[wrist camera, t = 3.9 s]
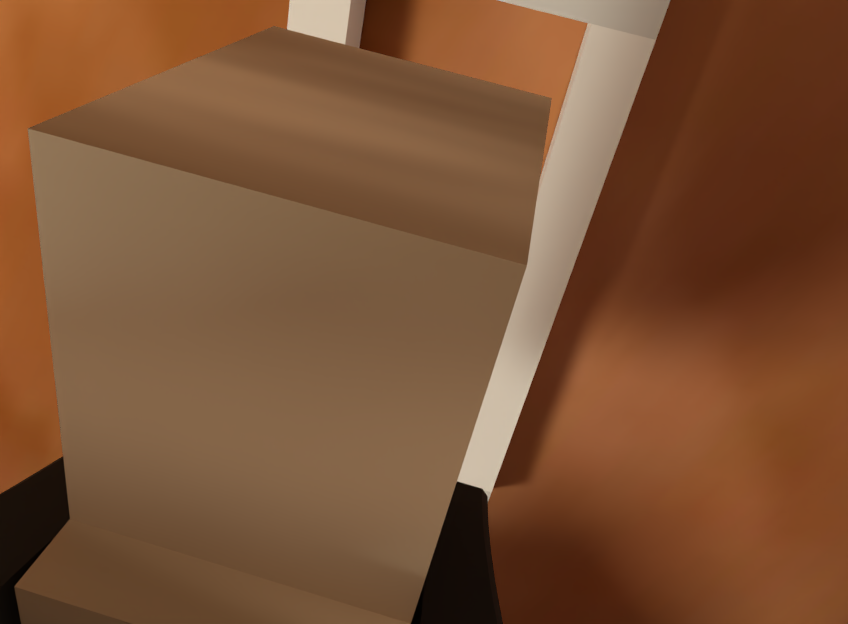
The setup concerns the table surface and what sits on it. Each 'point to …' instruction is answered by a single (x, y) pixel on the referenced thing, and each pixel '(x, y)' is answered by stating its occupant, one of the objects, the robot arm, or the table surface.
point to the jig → (542, 186)
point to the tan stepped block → (273, 328)
